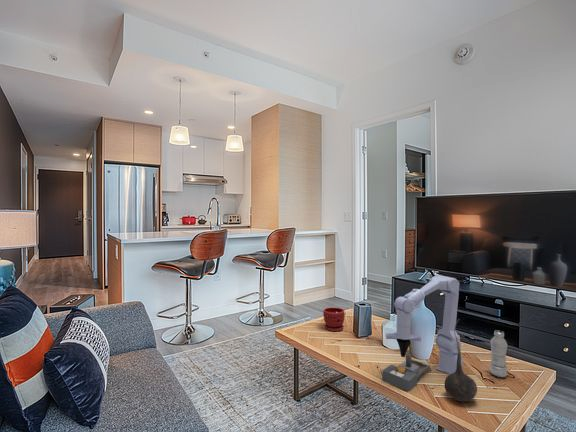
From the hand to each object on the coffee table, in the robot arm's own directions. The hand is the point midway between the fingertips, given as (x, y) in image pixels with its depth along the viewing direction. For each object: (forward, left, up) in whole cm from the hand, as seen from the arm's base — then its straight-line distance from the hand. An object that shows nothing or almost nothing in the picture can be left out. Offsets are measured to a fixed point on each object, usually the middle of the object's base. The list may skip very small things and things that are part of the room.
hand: (402, 356), depth 142 cm
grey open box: (0, +3, -11) cm, 11 cm away
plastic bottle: (-28, -36, -11) cm, 47 cm away
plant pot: (+59, -28, -11) cm, 66 cm away
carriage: (0, -6, -9) cm, 11 cm away
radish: (-22, -5, -11) cm, 25 cm away
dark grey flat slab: (0, -10, -11) cm, 14 cm away
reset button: (0, +1, -8) cm, 8 cm away
